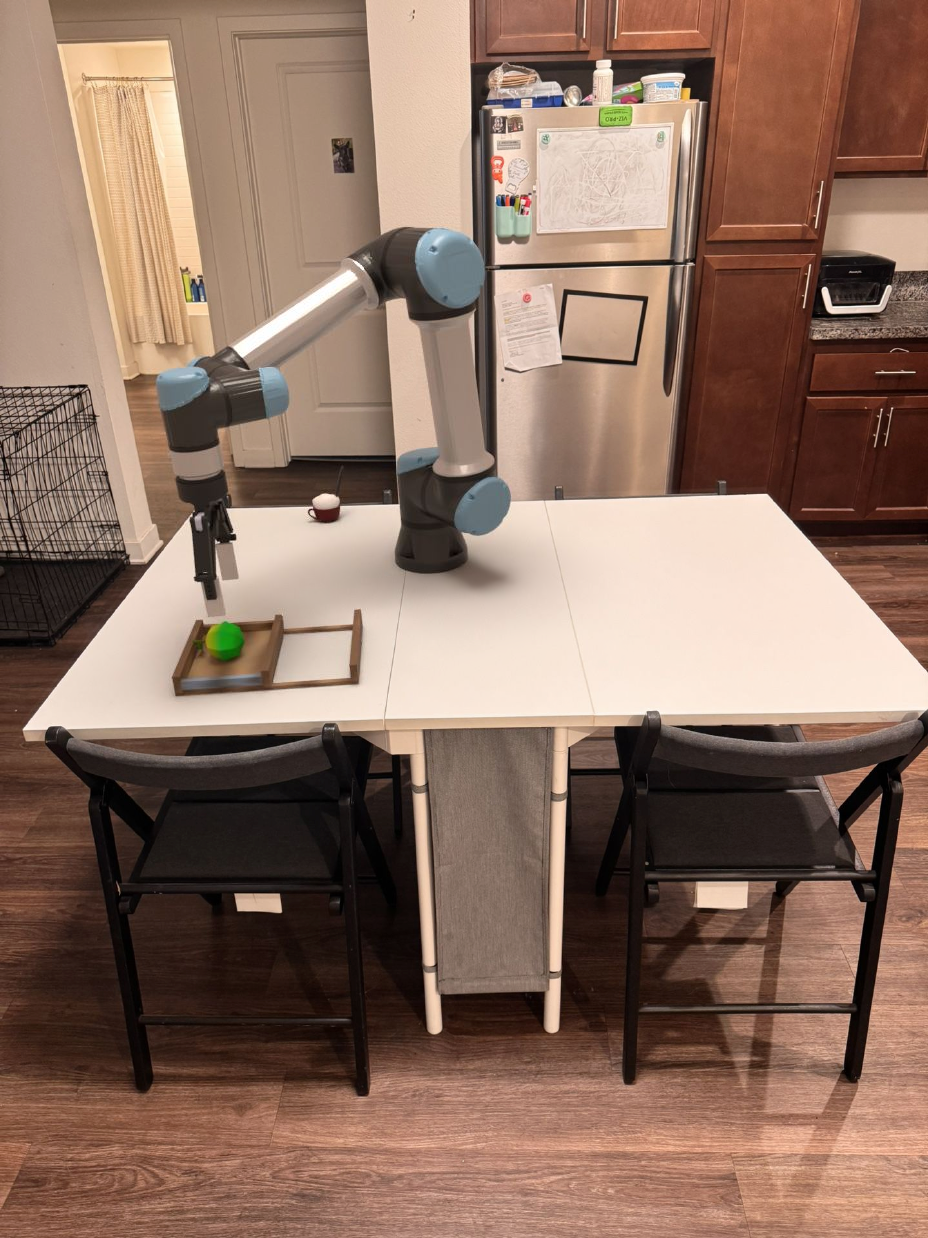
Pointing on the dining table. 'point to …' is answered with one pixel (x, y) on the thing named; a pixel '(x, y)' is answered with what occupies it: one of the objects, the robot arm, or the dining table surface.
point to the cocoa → (327, 504)
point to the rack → (253, 659)
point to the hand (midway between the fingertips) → (224, 596)
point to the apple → (223, 641)
